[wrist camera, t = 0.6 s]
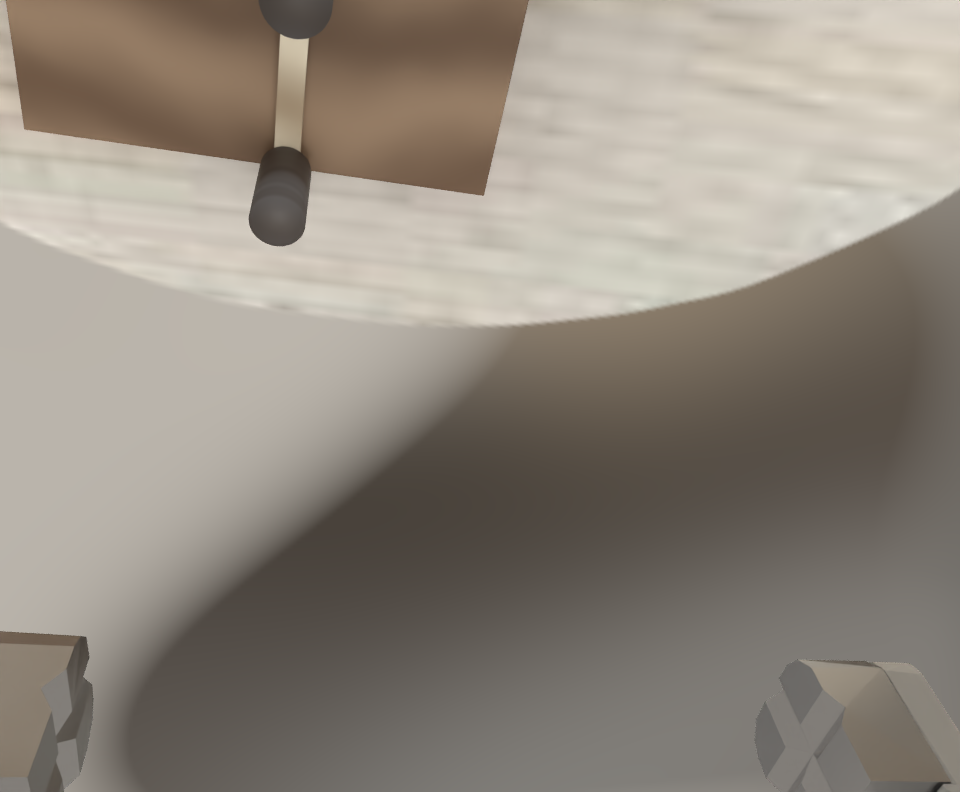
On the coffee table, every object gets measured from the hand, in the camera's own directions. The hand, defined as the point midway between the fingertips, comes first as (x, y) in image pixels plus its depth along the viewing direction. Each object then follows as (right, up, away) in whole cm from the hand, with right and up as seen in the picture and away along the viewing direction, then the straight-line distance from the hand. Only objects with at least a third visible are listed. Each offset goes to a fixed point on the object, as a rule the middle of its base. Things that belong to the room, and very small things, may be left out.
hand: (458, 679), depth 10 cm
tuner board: (-9, +22, +29) cm, 37 cm away
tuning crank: (-8, +20, +27) cm, 35 cm away
